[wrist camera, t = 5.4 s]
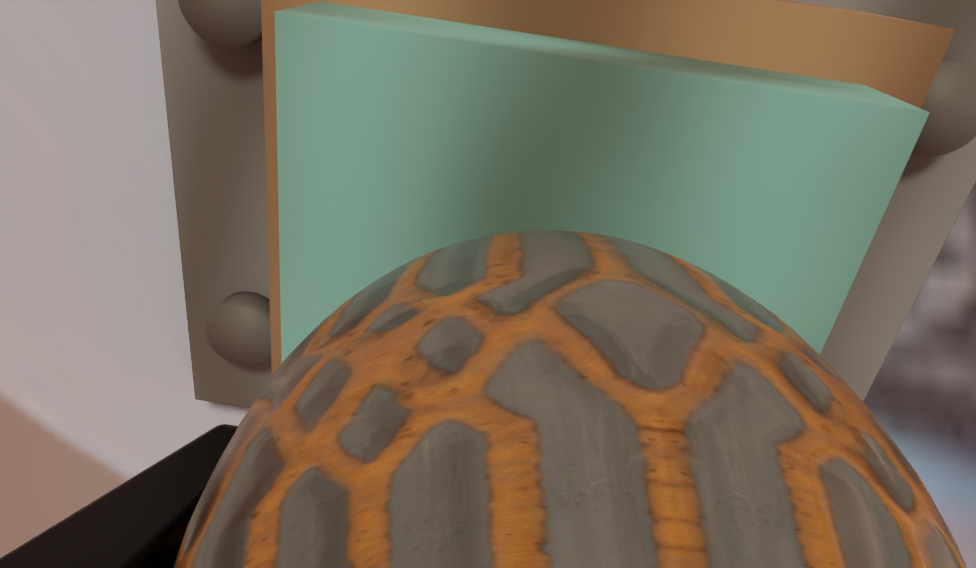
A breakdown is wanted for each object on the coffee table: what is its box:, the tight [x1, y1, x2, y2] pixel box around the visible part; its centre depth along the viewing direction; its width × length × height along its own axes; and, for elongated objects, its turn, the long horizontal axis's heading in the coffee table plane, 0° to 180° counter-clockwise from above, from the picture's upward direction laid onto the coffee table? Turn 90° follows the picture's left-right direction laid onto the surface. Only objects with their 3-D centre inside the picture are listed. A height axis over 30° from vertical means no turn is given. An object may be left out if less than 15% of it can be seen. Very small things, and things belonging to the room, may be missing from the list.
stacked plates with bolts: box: [156, 0, 976, 408], centre depth 14 cm, size 18×14×6 cm
